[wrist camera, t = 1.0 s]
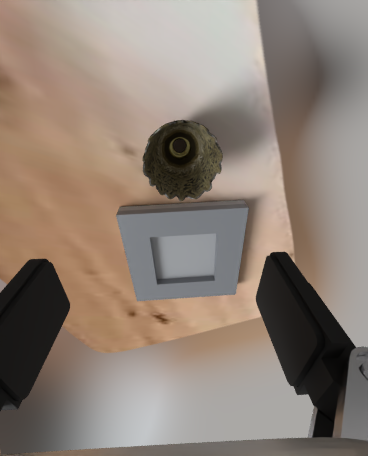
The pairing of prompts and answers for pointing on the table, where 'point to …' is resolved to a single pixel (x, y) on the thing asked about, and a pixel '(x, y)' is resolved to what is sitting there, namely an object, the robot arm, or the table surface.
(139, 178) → the table surface
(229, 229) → the display stand
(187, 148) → the cup
